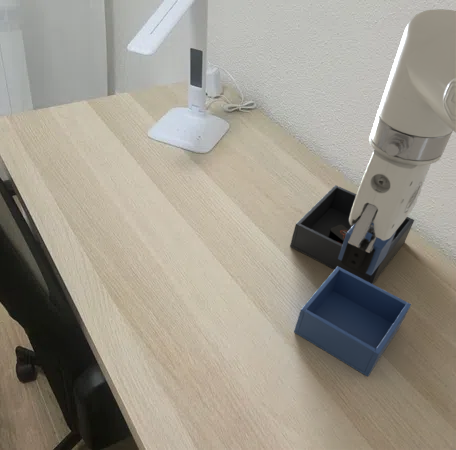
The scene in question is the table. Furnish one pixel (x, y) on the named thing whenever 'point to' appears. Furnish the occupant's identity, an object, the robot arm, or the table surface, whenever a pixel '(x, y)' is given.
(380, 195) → the robot arm
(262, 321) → the table surface
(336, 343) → the blue bin
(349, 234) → the blue block
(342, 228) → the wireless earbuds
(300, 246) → the charcoal bin
